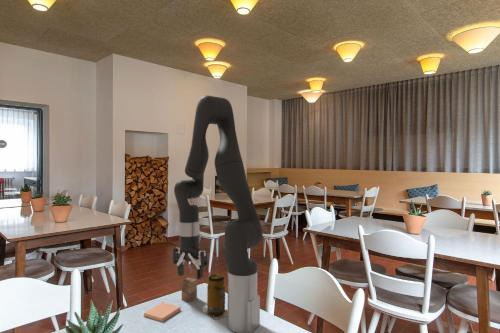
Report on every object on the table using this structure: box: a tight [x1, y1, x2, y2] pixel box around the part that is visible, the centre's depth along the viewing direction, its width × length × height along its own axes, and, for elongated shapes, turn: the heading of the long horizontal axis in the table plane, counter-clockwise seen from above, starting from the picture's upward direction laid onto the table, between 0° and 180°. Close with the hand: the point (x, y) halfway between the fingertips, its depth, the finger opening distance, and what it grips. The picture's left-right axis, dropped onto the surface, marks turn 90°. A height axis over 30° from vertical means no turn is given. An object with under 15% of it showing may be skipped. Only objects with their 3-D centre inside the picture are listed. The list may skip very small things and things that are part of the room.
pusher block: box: [181, 277, 198, 303], centre depth 120 cm, size 4×4×7 cm
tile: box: [143, 302, 181, 323], centre depth 109 cm, size 8×2×9 cm
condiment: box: [201, 273, 228, 320], centre depth 110 cm, size 7×8×12 cm
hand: (190, 277), depth 120 cm, fingers open, 8 cm apart
